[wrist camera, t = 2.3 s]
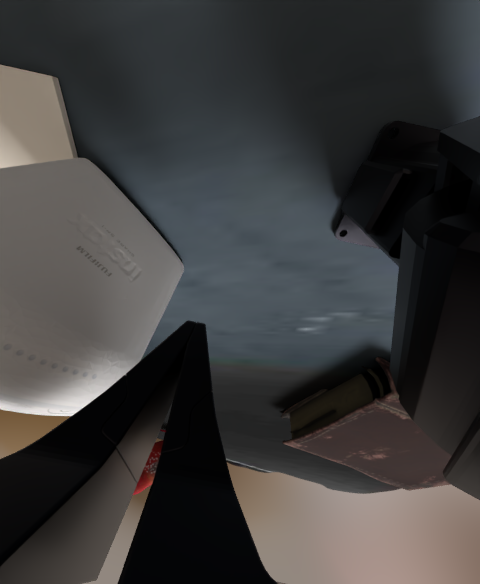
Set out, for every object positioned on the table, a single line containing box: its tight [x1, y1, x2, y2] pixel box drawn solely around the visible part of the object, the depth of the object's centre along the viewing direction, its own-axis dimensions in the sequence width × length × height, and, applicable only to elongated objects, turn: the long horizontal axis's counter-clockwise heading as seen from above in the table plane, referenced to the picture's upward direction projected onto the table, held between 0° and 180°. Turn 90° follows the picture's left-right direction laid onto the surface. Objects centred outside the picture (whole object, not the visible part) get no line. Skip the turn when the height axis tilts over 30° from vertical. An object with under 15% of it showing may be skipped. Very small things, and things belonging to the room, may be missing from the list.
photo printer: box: [0, 158, 184, 416], centre depth 11 cm, size 10×4×12 cm, turn 32°
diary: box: [281, 357, 452, 490], centre depth 28 cm, size 19×25×5 cm
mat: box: [0, 65, 78, 168], centre depth 16 cm, size 10×16×1 cm, turn 170°
